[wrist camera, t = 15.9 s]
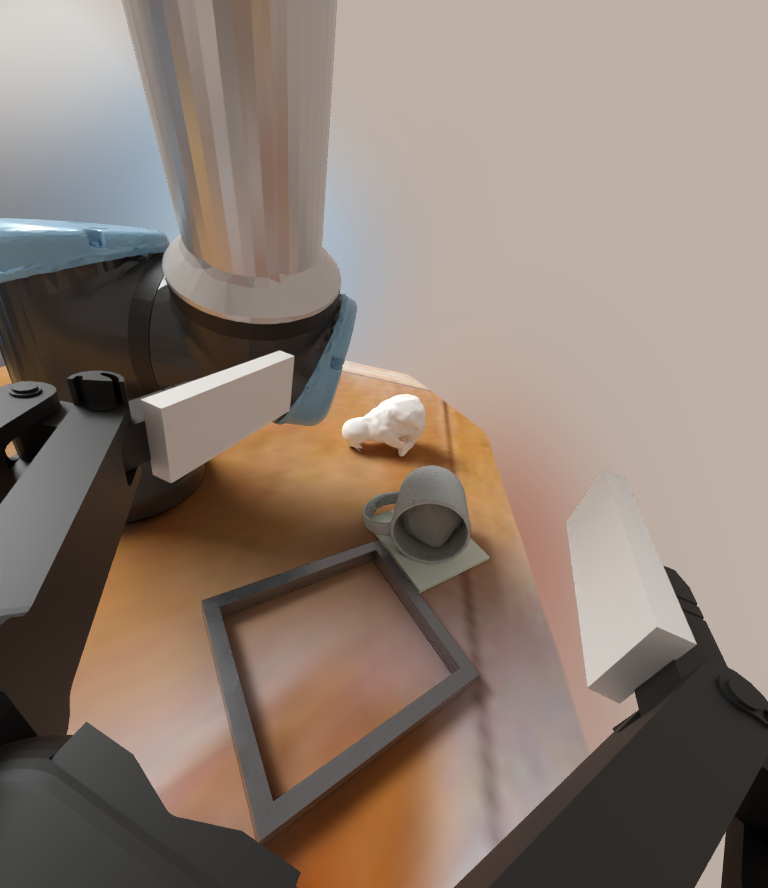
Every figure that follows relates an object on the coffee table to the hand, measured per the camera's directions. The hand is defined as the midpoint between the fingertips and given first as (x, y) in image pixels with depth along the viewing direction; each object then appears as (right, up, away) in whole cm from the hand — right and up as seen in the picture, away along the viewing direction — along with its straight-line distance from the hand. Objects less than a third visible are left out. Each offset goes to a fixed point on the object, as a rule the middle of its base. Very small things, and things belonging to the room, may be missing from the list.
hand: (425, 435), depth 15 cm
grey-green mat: (+3, -11, +24) cm, 27 cm away
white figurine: (-3, -1, +39) cm, 39 cm away
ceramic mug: (+1, -10, +24) cm, 26 cm away
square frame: (-5, -16, +12) cm, 21 cm away
